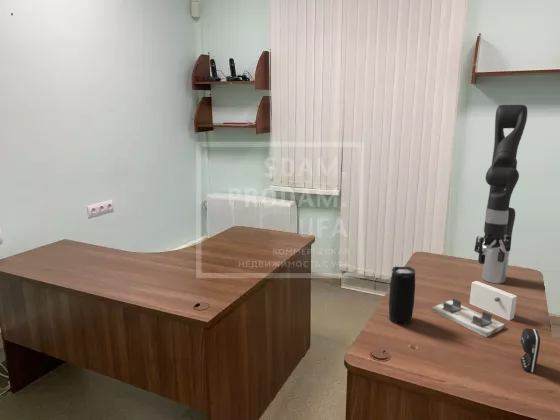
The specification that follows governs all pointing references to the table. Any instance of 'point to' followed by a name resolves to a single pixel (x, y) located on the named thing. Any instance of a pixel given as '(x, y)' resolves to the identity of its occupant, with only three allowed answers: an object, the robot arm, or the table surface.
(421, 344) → the table surface
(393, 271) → the portable speaker
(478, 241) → the robot arm
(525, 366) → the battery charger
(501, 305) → the door
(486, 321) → the cabinet side
